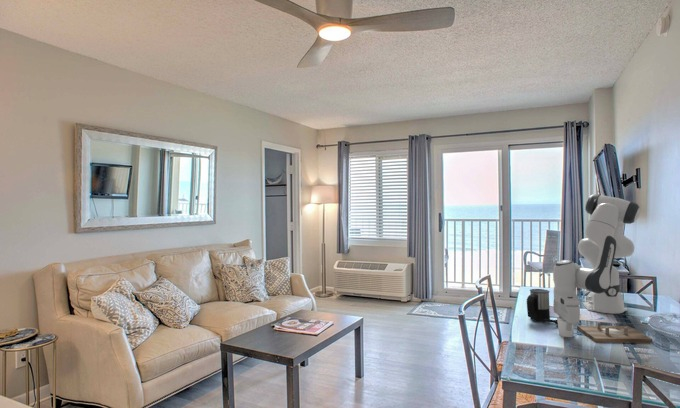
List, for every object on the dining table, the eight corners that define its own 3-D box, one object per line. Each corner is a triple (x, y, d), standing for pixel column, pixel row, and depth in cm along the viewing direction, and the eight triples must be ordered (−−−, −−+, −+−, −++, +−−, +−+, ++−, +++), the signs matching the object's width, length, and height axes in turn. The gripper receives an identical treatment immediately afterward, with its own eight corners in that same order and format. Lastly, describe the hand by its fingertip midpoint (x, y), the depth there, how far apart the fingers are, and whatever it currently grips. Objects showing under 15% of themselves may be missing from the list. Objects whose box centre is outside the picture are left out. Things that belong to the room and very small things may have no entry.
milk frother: (533, 316, 215) (532, 287, 215) (567, 321, 205) (566, 291, 205) (525, 323, 204) (524, 293, 204) (560, 328, 194) (559, 296, 194)
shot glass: (577, 337, 181) (576, 321, 181) (560, 337, 182) (559, 321, 182) (571, 332, 187) (571, 317, 187) (555, 332, 189) (554, 317, 189)
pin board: (577, 329, 192) (576, 319, 192) (628, 329, 189) (628, 319, 189) (594, 342, 175) (594, 331, 175) (652, 342, 171) (652, 331, 171)
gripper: (549, 292, 195) (550, 321, 195) (566, 302, 175) (567, 335, 175) (563, 292, 194) (564, 321, 194) (582, 302, 174) (583, 335, 174)
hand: (566, 328), depth 185 cm, fingers closed on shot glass, 5 cm apart
